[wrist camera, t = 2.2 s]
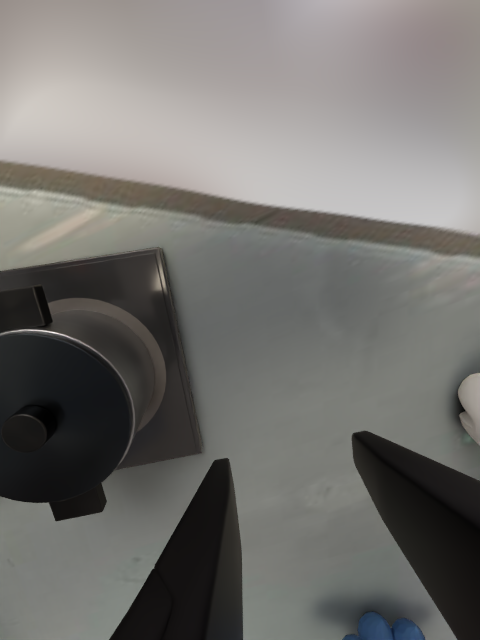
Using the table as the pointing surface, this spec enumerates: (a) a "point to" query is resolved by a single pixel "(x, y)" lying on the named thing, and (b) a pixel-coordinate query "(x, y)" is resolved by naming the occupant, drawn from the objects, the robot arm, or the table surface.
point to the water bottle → (471, 405)
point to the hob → (142, 318)
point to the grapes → (385, 629)
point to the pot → (66, 401)
